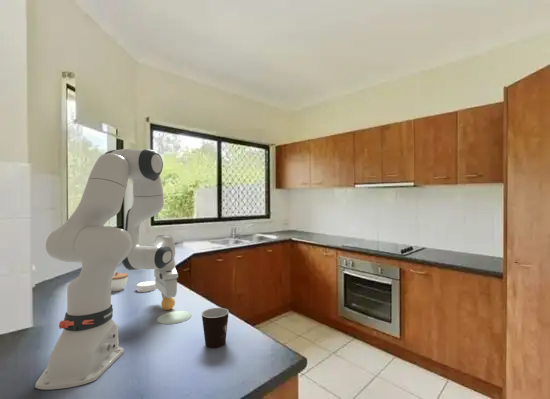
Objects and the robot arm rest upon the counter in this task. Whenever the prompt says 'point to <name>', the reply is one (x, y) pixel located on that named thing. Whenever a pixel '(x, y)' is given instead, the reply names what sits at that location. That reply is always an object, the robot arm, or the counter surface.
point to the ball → (168, 303)
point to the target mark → (174, 317)
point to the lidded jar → (119, 281)
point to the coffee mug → (215, 326)
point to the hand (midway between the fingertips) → (165, 302)
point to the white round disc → (146, 286)
